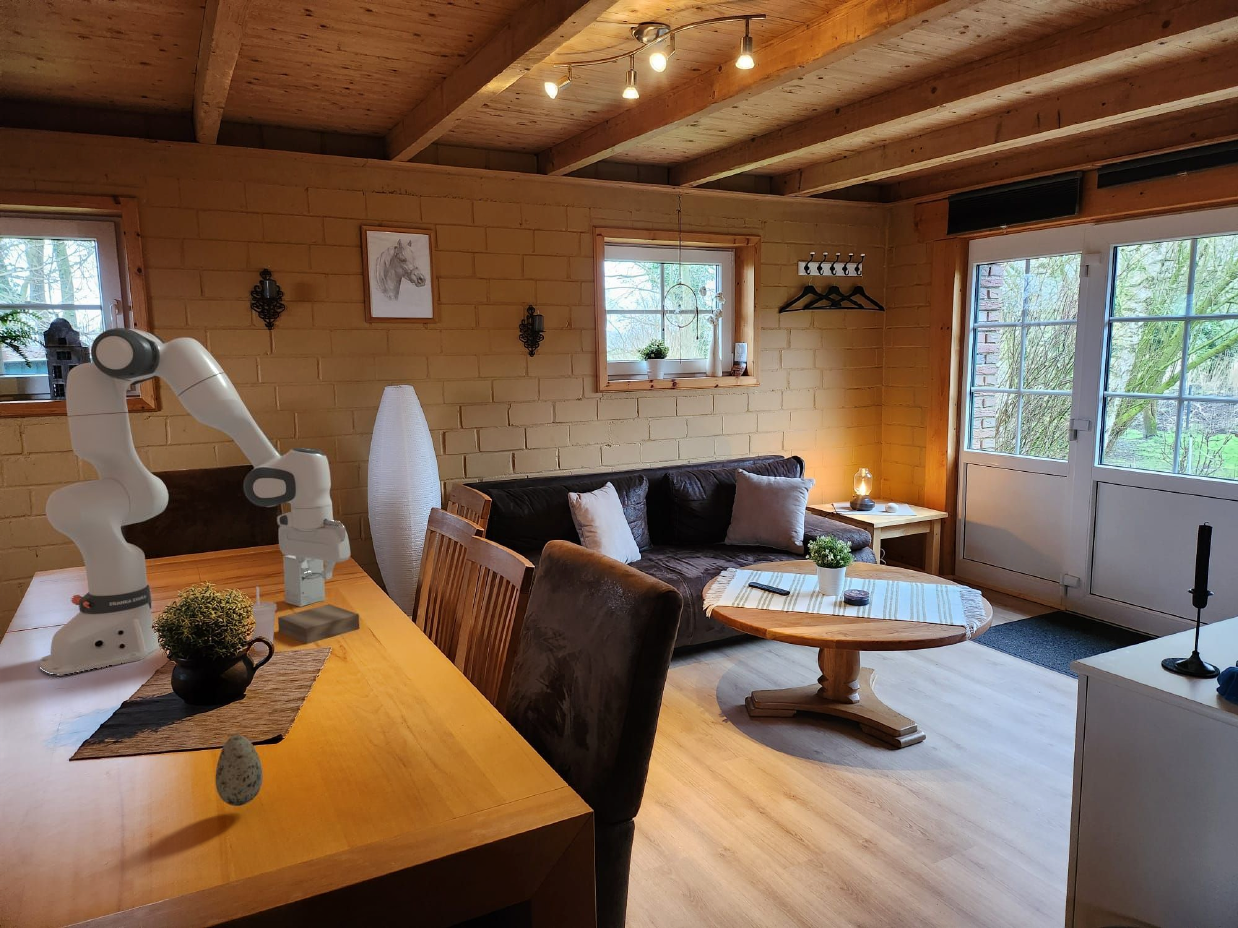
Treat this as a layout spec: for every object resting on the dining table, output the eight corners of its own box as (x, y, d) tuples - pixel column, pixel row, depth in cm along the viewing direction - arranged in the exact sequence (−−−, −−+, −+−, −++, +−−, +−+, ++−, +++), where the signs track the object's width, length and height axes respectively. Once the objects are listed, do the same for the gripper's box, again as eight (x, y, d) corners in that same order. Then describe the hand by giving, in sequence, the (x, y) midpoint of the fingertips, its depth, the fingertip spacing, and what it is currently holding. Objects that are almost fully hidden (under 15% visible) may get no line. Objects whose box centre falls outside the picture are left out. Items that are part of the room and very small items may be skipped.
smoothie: (240, 650, 174) (236, 588, 173) (265, 642, 180) (261, 581, 178) (261, 655, 171) (256, 591, 170) (285, 646, 177) (282, 584, 175)
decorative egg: (271, 791, 116) (266, 725, 115) (254, 814, 110) (248, 744, 109) (229, 792, 116) (224, 726, 114) (209, 815, 110) (204, 746, 108)
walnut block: (307, 645, 178) (306, 628, 178) (279, 633, 187) (277, 617, 186) (359, 630, 188) (358, 614, 188) (330, 619, 197) (329, 604, 196)
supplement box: (300, 607, 206) (297, 559, 204) (284, 602, 210) (281, 555, 209) (326, 600, 212) (323, 553, 210) (310, 596, 216) (307, 550, 215)
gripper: (355, 519, 182) (358, 578, 183) (295, 512, 192) (298, 568, 194) (332, 523, 176) (336, 585, 178) (272, 516, 187) (276, 574, 188)
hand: (316, 576), depth 186 cm, fingers open, 6 cm apart
